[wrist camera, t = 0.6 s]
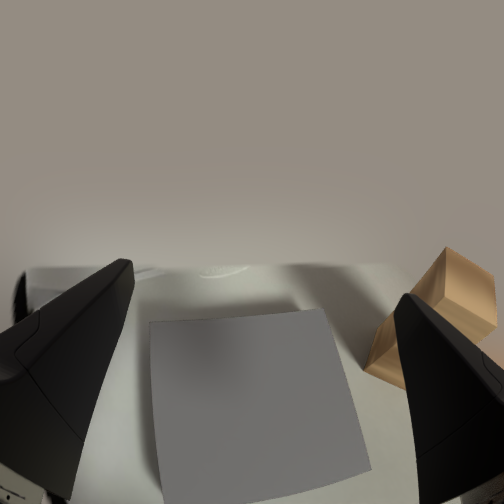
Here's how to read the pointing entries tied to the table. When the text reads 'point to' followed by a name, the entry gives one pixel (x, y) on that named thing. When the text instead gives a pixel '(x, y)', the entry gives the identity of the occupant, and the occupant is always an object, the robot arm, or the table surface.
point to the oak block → (441, 310)
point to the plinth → (251, 408)
